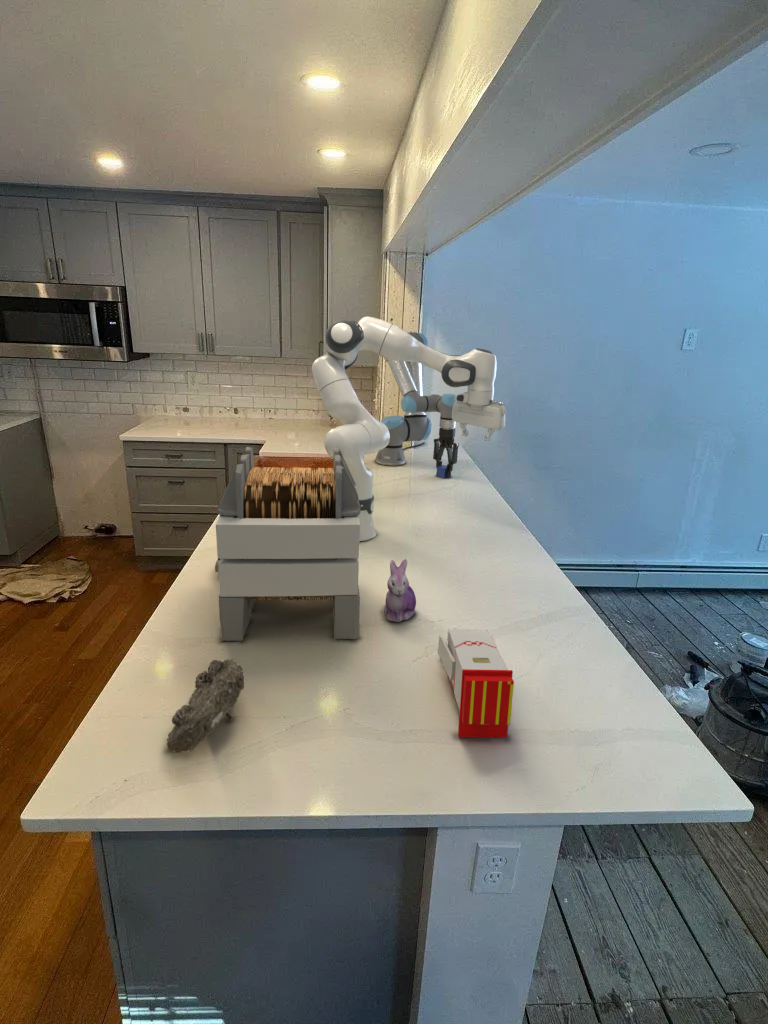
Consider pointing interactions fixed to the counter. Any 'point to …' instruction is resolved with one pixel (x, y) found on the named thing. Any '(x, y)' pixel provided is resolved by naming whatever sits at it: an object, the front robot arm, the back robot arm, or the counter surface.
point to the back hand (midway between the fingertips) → (443, 476)
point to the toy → (478, 682)
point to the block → (441, 471)
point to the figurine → (399, 594)
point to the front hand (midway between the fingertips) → (475, 438)
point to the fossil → (206, 705)
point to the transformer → (288, 542)
